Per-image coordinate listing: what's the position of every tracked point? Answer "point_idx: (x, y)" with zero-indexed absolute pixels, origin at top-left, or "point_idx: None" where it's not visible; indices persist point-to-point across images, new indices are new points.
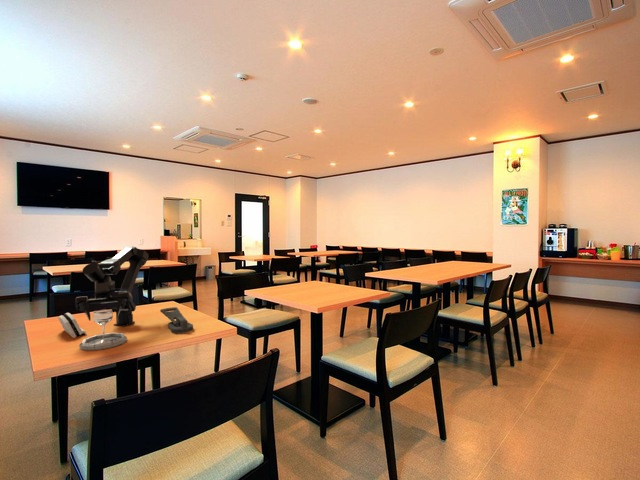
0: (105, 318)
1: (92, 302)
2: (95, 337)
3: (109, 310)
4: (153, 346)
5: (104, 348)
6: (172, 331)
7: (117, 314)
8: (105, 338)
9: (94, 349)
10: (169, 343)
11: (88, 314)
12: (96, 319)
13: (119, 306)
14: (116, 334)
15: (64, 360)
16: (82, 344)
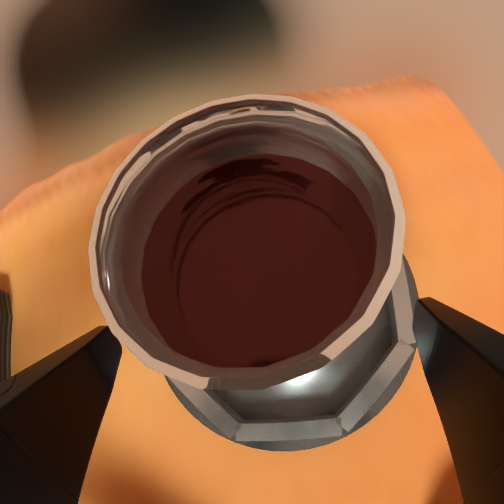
0: (219, 160)
1: None
2: (344, 406)
3: (131, 330)
4: (96, 165)
5: None
6: (6, 312)
7: (92, 332)
8: (279, 386)
9: None
10: (55, 181)
11: (471, 329)
12: (317, 164)
13: (3, 384)
14: (205, 389)
15: (405, 128)
16: None
